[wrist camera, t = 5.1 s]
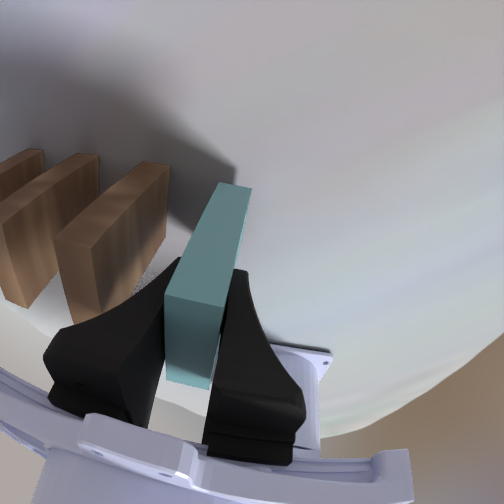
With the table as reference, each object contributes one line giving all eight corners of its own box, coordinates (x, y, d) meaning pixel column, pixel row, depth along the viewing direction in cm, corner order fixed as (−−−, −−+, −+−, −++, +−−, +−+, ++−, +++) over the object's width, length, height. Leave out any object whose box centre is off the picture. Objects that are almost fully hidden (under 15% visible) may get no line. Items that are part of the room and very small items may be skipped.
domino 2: (170, 165, 17) (90, 248, 10) (165, 236, 20) (107, 338, 13) (142, 161, 17) (52, 238, 10) (140, 231, 20) (75, 327, 12)
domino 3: (98, 155, 17) (1, 224, 10) (101, 223, 20) (27, 309, 12) (76, 153, 17) (-21, 218, 10) (80, 218, 20) (5, 299, 12)
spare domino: (251, 188, 16) (223, 307, 9) (236, 262, 19) (208, 389, 12) (218, 182, 16) (164, 294, 9) (208, 256, 19) (166, 379, 12)
